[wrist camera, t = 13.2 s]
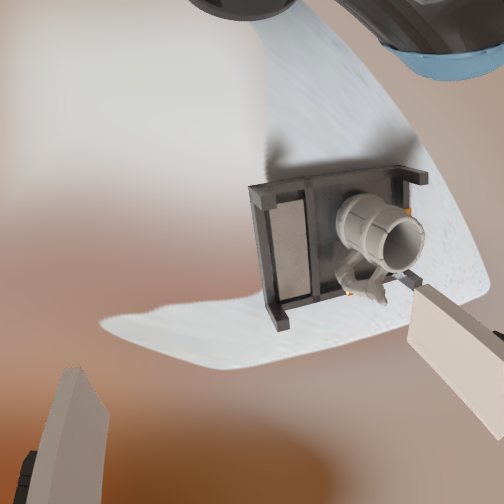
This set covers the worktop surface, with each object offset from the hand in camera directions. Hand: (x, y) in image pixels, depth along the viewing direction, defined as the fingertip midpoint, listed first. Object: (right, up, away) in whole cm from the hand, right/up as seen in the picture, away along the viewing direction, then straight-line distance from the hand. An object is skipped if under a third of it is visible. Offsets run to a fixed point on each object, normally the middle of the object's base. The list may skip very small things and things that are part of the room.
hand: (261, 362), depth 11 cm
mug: (+12, +6, +29) cm, 32 cm away
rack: (+10, +6, +29) cm, 32 cm away
